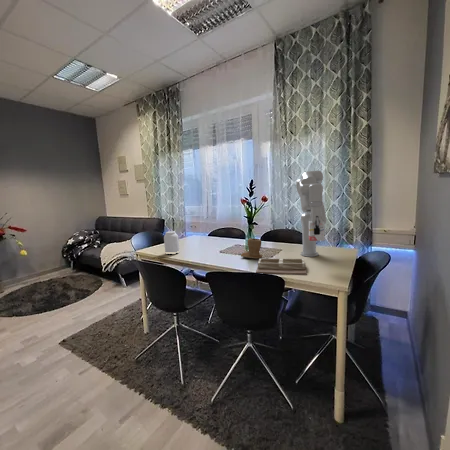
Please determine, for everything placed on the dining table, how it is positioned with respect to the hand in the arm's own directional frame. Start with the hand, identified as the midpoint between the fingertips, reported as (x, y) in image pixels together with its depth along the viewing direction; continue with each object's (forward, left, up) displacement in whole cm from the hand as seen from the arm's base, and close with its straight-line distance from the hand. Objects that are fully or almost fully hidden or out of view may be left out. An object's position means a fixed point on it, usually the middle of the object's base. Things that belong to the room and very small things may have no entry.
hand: (316, 233), depth 148 cm
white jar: (-33, -118, -22) cm, 124 cm away
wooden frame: (+1, -22, -22) cm, 31 cm away
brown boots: (-22, -44, -23) cm, 54 cm away
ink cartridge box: (0, 0, -5) cm, 5 cm away
